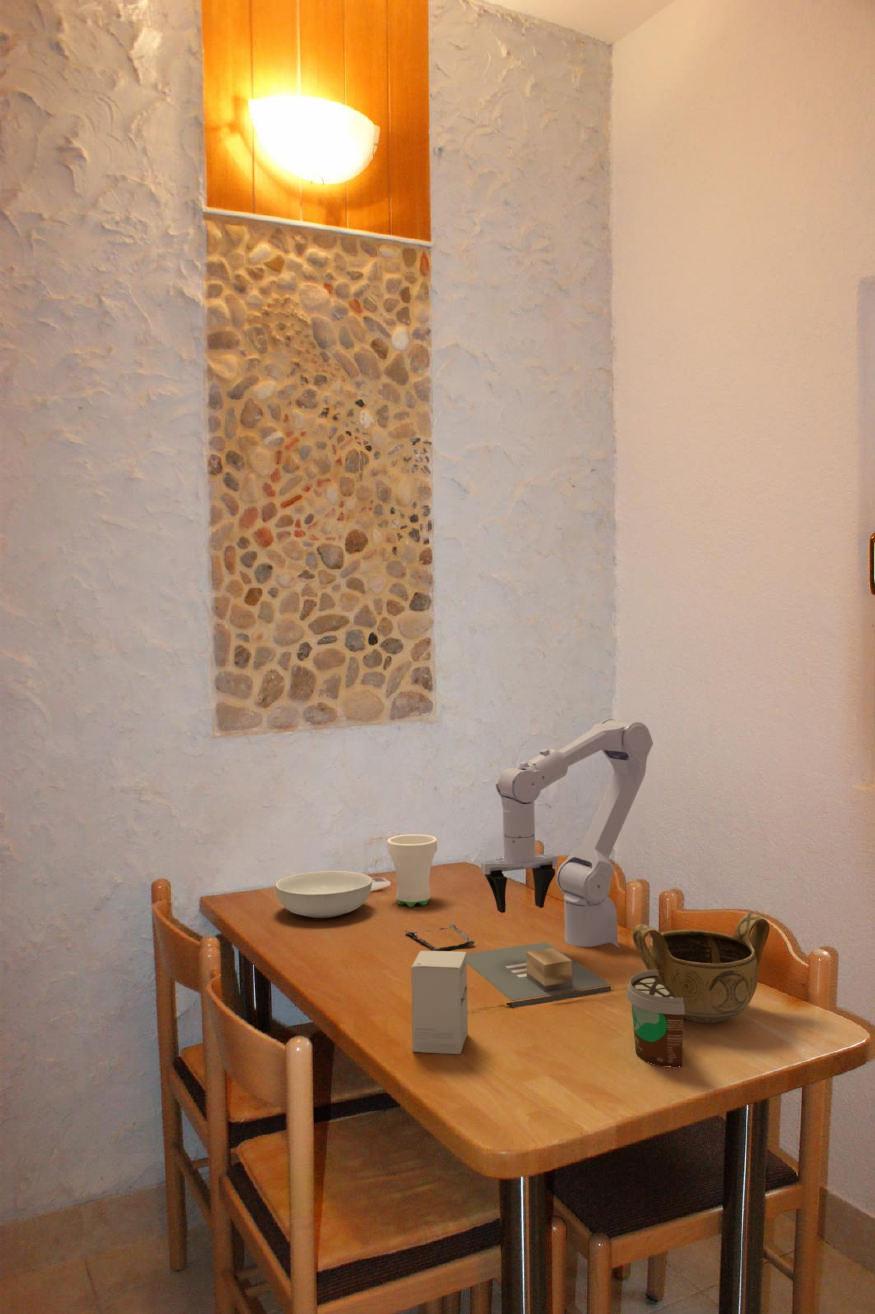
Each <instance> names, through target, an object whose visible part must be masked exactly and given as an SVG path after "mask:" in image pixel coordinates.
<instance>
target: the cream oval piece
mask: <svg viewBox="0 0 875 1314" xmlns="http://www.w3.org/2000/svg"><path fill="white" fill-rule="evenodd" d="M372 885H373V879H372V877H371V876H369V875H367V874H365V873H360V872H356V871H355V872H354V871H345V870H322V871H321V870H320V871H319V870H318V871H309V872H302V873H297V874H292V875H289V876H285V877H283V878H281V879H279V880H278V881H276V883H275V891H276V892H275V893H276V897H277V899H278V901H279V903H280V905H282V906H283V908H284V909H286V910H287V911H289V912H291V913H293V914H296V915H300V916H304V917H308V918H311V919H312V918H313V919H327V918H329V919H330V918H334V917H339V916H341V915H344V914H347V913H350V912H353V911H354V910H357V909H359V908H361V906H362V905H364V904H365V902H366V901H367V899H369V897H370V894H371V891H372V887H373V886H372Z"/></svg>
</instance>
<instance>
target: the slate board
mask: <svg viewBox="0 0 875 1314" xmlns="http://www.w3.org/2000/svg"><path fill="white" fill-rule="evenodd" d="M549 948H554V949H555V950H557V951H558V952H560V953H561V954H563V955H564V956H566V957H567V958H569V959H570V960H572V988H567V989H561V990H555V991H549V992H544V991H543V990H542V989H540V988H539V987H538V986H536V985H535V984H534V983H532V982H531V981H530V980H529V979H527V967H526V952H528V951H535V950H542V949H549ZM466 957H467V965H468V966H469V967H471V968H472V969H473V970H475V972H477V973H478V974H479V975H481V977H482V978H484V979H485V980H486V981H488V982H489V983H490V984H491V985H492V986H493V987H495V988H496V989H497V990H498V991H499V992H500V993H502V994H503V995H504V996H505V997H506V998H507V999H509V1000H510V1002H506V1005H507V1006H509V1008H511V1009H515V1008H522V1007H527V1006H532V1005H538V1004H544V1003H545V1004H546V1003H550V1002H556V1001H562V1000H567V999H568V1000H569V999H575V998H581V997H585V996H591V995H593V996H594V995H598V993H599V994H604V993H605V994H606V993H611V992H612V990H611V989H612V986H611V983H609V982H608V981H606V980H604V979H603V978H601V977H600V976H599V975H597V974H595V973H594V972H592V971H591V970H589V969H588V968H586V967H585V966H583V965H582V964H580V963H579V962H577V961H576V960H574V959H573V958H571V957H569V956H568V955H566V953H564V952H562V951H560V950H559V949H557V948H556V947H554V946H553V945H551V944H550V943H548V942H546V941H545V942H538V943H531V944H525V945H517V946H510V947H509V946H508V947H503V948H496V949H490V950H489V949H488V950H482V951H475V952H469V953H467V952H466Z"/></svg>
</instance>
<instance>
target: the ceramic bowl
mask: <svg viewBox="0 0 875 1314" xmlns="http://www.w3.org/2000/svg"><path fill="white" fill-rule="evenodd" d="M770 928H771V926H770V924H769V922H768V921H767V919H765V918H763V917H762V916H760V915H758V914H756V913H754V912H747V913H746V914H744V915H743V916H742V917H741V918H740V920H739V921H738V923H737V925H736V927H735V930H734V933H733V935H730V934H727V933H722V932H717V931H710V930H705V929H704V930H702V929H679V930H678V929H676V930H669V931H664V932H660V931H659V930H657V929H655V928H653V927H650V926H648V925H647V924H643V923H639V924H637V925H636V926H635V927H634V928H633V930H632V941H633V943H634V945H635V948H636V949H637V952H638V954H639V956H640V957H641V959H642V962H643V964H644V966H645V967H646V971H649V970H658V977H659V979H660V980H661V981H662V982H663V983H664V984H666V985H667V986H669V988H670V989H671V991H672V992H673V994H674V995H675V997H676V998H683V1003H684V1009H685V1014H683V1019H685V1020H688V1021H691V1022H695V1023H698V1024H700V1023H701V1024H715V1023H720V1022H724V1021H727V1020H730V1019H732V1018H734V1017H736V1016H738V1015H739V1014H741V1013H742V1012H743V1011H744V1010H745V1009H746V1008H747V1007H748V1005H749V1004H750V1003H751V1001H752V999H753V997H754V995H755V993H756V990H757V988H758V987H757V986H758V981H759V965H760V963H761V962H760V961H761V959H762V956H763V953H764V950H765V946H766V943H767V940H768V937H769V934H770V930H771V929H770ZM648 934H649V935H650V937H651V939H650V941H649V946H648V944H647V942H646V938H647V936H648Z"/></svg>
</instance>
